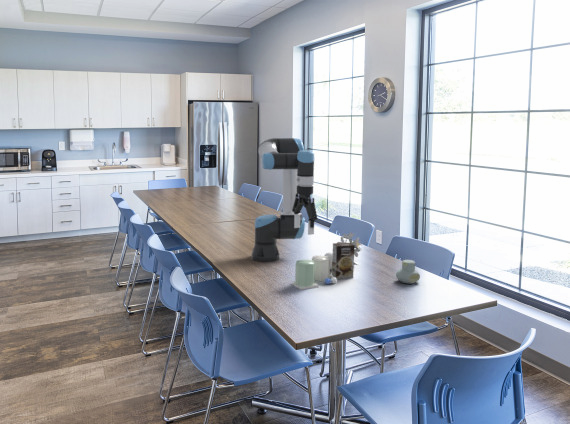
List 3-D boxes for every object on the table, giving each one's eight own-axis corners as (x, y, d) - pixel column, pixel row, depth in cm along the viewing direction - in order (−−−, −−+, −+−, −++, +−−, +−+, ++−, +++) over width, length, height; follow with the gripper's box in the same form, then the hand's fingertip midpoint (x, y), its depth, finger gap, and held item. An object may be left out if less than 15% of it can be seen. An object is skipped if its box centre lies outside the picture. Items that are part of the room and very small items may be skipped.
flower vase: (336, 285, 260) (364, 263, 276) (337, 254, 251) (366, 233, 267) (316, 275, 267) (344, 254, 284) (316, 244, 258) (345, 225, 275)
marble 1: (323, 283, 240) (323, 277, 239) (328, 282, 241) (328, 276, 240) (326, 285, 237) (326, 279, 237) (332, 284, 238) (332, 278, 238)
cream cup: (308, 276, 250) (309, 256, 248) (323, 274, 254) (324, 254, 252) (317, 281, 243) (317, 260, 241) (332, 279, 246) (332, 259, 244)
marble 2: (329, 282, 241) (329, 276, 241) (334, 282, 242) (334, 275, 242) (332, 284, 238) (332, 278, 238) (338, 283, 240) (338, 277, 239)
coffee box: (336, 279, 247) (337, 246, 244) (331, 275, 253) (332, 243, 250) (353, 277, 249) (355, 245, 246) (348, 274, 255) (349, 242, 252)
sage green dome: (308, 279, 242) (309, 258, 240) (317, 284, 235) (317, 263, 233) (292, 281, 239) (293, 260, 237) (301, 287, 231) (301, 265, 230)
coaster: (291, 283, 239) (291, 281, 239) (309, 281, 243) (309, 279, 243) (300, 289, 231) (300, 287, 231) (318, 287, 235) (318, 285, 235)
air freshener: (405, 286, 238) (406, 264, 236) (392, 281, 245) (393, 260, 243) (422, 282, 244) (423, 261, 242) (409, 277, 251) (411, 257, 249)
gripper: (285, 181, 244) (284, 225, 249) (310, 189, 222) (309, 238, 227) (299, 180, 247) (298, 224, 252) (326, 189, 225) (324, 236, 230)
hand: (303, 231), depth 239 cm, fingers open, 13 cm apart
